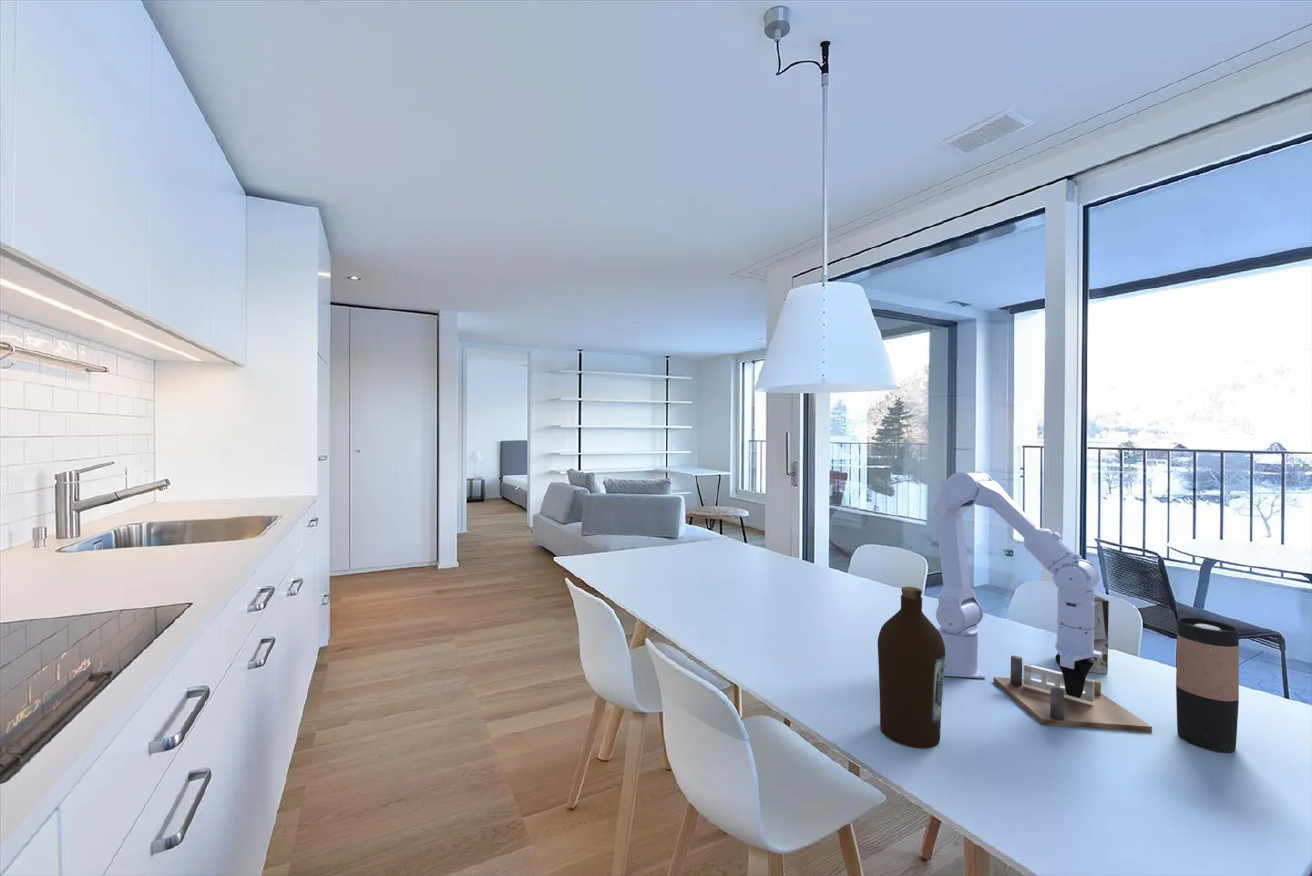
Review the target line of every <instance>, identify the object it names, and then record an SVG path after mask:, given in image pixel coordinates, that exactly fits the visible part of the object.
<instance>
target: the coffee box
mask: <svg viewBox="0 0 1312 876" xmlns="http://www.w3.org/2000/svg"><path fill="white" fill-rule="evenodd" d="M1094 603H1095V618H1094V650H1095V651H1099V652H1101V653H1102V657H1101V658H1096V657H1091V658H1088V659H1092V660H1093V661H1094V664H1093V666H1092V667H1091V668H1090V670H1089V672H1088V673H1094V674H1096V673H1097V674H1105V675H1106V674H1108V671H1109V670H1108V667H1109V665H1108V664H1109V615H1110V614H1109V611H1110V610H1109V606H1110V604H1109V603H1110V601H1109V600H1108V599H1105V598H1102V597H1100V596H1098V595H1096V594H1094ZM1057 654H1059V653H1058V652H1057Z"/></svg>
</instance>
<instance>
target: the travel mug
mask: <svg viewBox="0 0 1312 876" xmlns="http://www.w3.org/2000/svg"><path fill="white" fill-rule="evenodd" d="M1176 633H1177V634H1176V637H1177V639H1176V665H1175V668H1176V671H1175V694H1176V695H1175V696H1176V697H1175V698H1176V699H1175V700H1176V729H1177V736H1178V738H1180V739H1181V740H1183V741H1184V742H1186V743H1188V744H1190V745H1193V746H1195V747H1197V748H1201V749H1204V750H1207V751H1210V752H1216V753H1221V754H1223V753H1224V754H1229V753H1230V754H1231V753H1234V752H1235V751H1236V748H1237V738H1238V737H1237V734H1238V719H1239V702H1240V701H1239V698H1240V693H1239V692H1240V690H1239V689H1240V680H1239V679H1240V669H1239V667H1240V655H1239V654H1240V653H1239V651H1240V649H1239V648H1240V644H1239V643H1240V633H1239V632H1238V629H1237V628H1236V627H1235V626H1233V625H1231V624H1226V623H1224V622H1219V621H1215V620H1209V619H1205V618H1198V617H1197V618H1195V617H1180V618H1178V619H1177V631H1176Z"/></svg>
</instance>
